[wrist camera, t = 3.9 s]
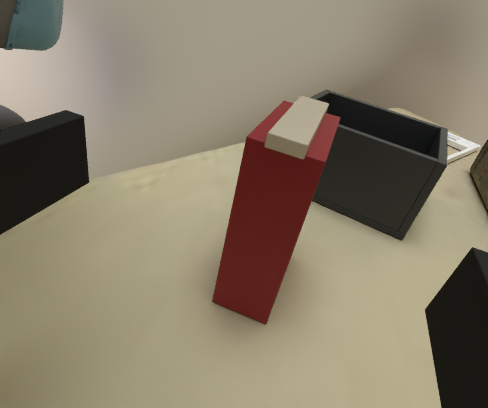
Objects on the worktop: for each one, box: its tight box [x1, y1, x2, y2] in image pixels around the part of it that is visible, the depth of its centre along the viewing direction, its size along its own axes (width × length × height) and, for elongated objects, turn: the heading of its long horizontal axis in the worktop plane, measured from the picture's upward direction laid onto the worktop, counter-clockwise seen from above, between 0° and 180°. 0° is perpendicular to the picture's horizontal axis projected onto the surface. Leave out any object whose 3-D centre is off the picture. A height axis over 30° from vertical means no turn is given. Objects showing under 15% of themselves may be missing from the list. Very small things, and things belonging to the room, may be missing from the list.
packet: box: [212, 96, 340, 324], centre depth 22 cm, size 4×8×13 cm, turn 161°
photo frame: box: [447, 132, 480, 164], centre depth 64 cm, size 15×1×18 cm
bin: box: [310, 90, 448, 240], centre depth 39 cm, size 16×14×9 cm
